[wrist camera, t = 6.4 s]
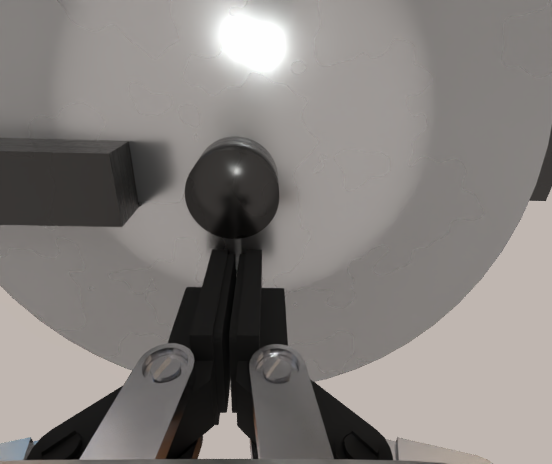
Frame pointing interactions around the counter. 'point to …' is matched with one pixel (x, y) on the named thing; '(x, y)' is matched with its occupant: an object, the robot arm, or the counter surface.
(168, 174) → the lid
